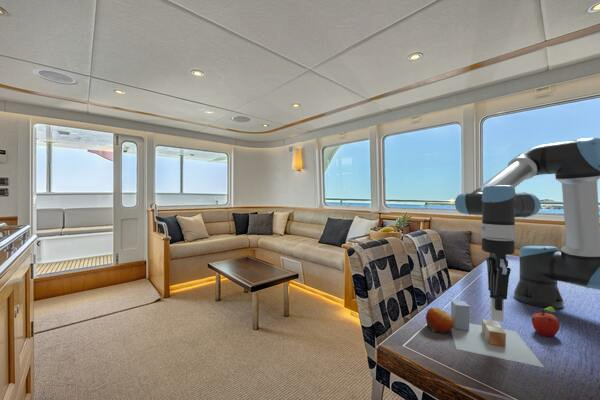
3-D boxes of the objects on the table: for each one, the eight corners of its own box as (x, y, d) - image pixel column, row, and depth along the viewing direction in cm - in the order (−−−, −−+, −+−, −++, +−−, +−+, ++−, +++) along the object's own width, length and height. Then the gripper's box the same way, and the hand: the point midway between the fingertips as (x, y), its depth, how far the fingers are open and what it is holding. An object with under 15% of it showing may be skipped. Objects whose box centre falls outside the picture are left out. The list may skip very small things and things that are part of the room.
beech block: (506, 348, 72) (497, 334, 79) (506, 334, 72) (497, 321, 79) (488, 344, 74) (481, 331, 81) (489, 330, 74) (482, 319, 81)
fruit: (415, 320, 86) (427, 300, 86) (434, 331, 86) (445, 311, 87) (429, 333, 78) (442, 310, 78) (450, 345, 78) (462, 323, 79)
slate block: (464, 325, 85) (464, 301, 85) (469, 331, 81) (469, 306, 81) (451, 323, 86) (451, 300, 86) (455, 329, 82) (455, 305, 82)
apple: (524, 329, 83) (524, 299, 83) (543, 329, 83) (543, 298, 83) (548, 343, 75) (549, 309, 75) (569, 342, 76) (570, 309, 76)
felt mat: (515, 332, 81) (515, 331, 81) (544, 369, 64) (544, 367, 64) (447, 320, 89) (447, 319, 89) (456, 350, 71) (456, 349, 71)
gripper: (476, 234, 81) (476, 308, 81) (488, 241, 69) (487, 327, 69) (505, 236, 78) (505, 312, 78) (523, 243, 66) (522, 333, 66)
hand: (496, 319), depth 74 cm, fingers closed
